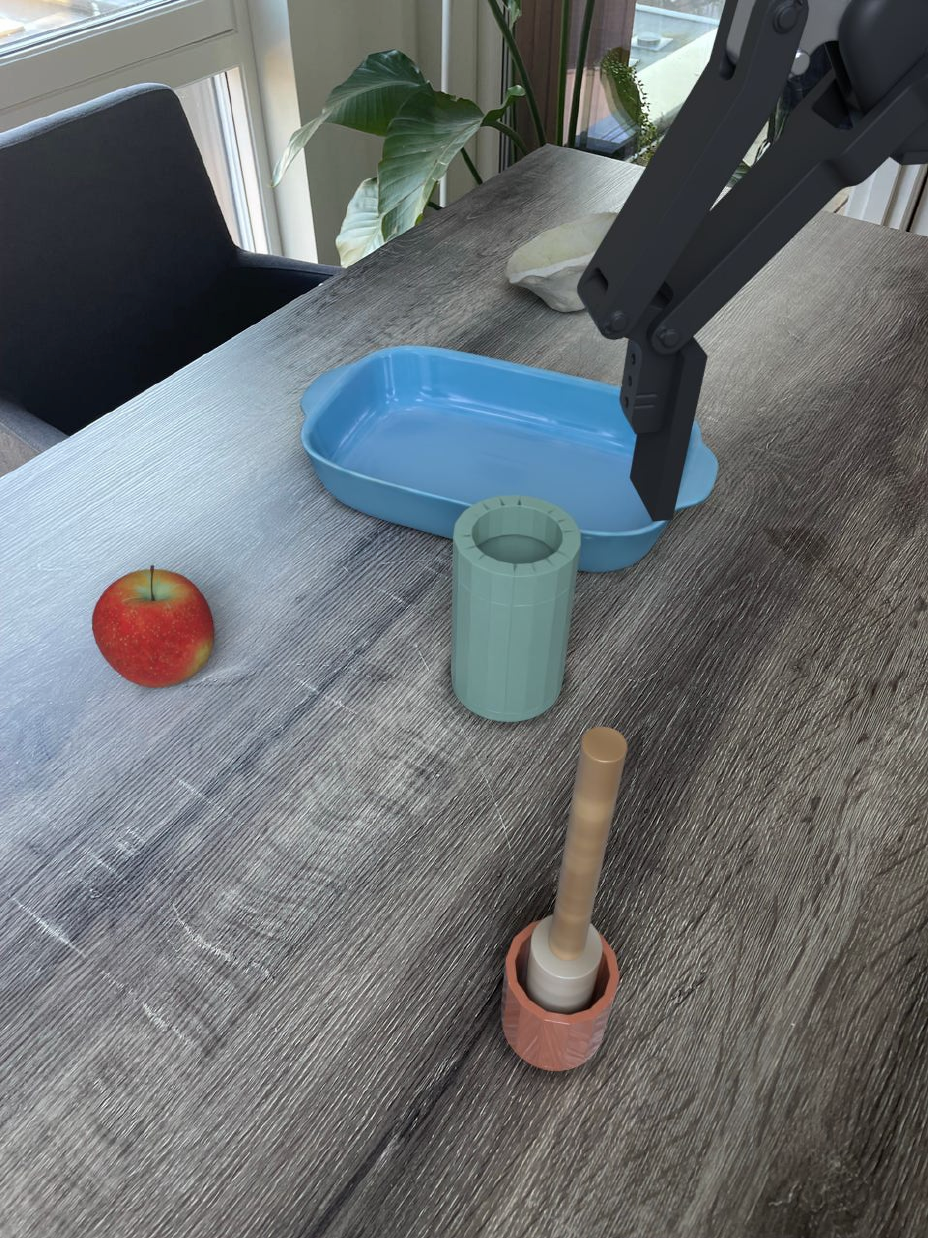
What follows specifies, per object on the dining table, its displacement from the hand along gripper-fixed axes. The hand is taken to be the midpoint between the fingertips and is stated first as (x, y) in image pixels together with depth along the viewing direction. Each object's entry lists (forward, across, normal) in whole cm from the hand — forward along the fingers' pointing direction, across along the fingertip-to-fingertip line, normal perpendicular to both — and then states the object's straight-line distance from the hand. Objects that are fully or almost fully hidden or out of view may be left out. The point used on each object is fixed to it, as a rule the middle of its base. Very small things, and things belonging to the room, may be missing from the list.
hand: (821, 482), depth 38 cm
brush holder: (+33, +9, +4) cm, 34 cm away
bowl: (+32, -14, -78) cm, 86 cm away
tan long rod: (+32, +9, +4) cm, 34 cm away
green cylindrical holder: (+32, +6, -21) cm, 39 cm away
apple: (+33, +30, -26) cm, 52 cm away
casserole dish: (+32, +1, -44) cm, 54 cm away
